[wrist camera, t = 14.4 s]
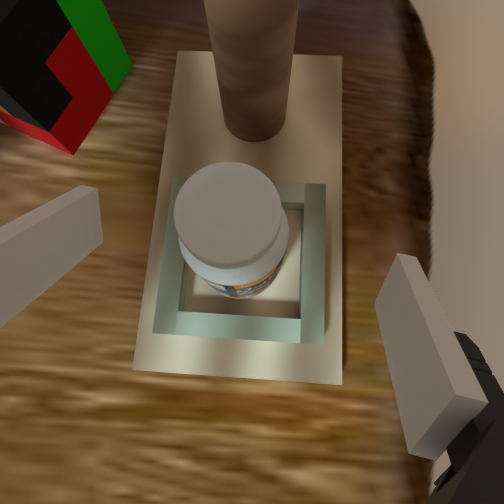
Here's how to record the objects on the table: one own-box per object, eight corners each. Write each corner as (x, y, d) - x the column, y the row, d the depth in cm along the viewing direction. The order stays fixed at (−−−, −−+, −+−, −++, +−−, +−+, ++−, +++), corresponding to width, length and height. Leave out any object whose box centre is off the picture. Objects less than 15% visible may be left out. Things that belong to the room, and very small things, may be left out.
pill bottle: (254, 314, 22) (250, 304, 13) (186, 273, 23) (133, 233, 14) (294, 246, 23) (319, 188, 14) (228, 208, 24) (206, 129, 15)
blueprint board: (140, 367, 23) (28, 402, 12) (182, 64, 29) (133, -101, 18) (337, 381, 23) (411, 432, 11) (337, 69, 29) (387, -97, 17)
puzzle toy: (-21, 113, 29) (-164, 1, 19) (43, 29, 31) (-58, -110, 21) (73, 155, 27) (-29, 60, 18) (133, 66, 29) (70, -65, 20)
